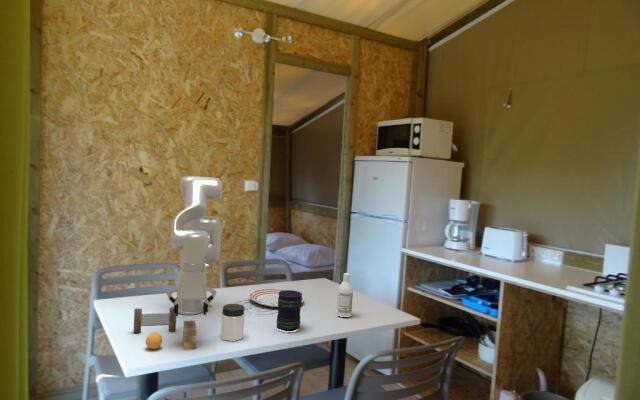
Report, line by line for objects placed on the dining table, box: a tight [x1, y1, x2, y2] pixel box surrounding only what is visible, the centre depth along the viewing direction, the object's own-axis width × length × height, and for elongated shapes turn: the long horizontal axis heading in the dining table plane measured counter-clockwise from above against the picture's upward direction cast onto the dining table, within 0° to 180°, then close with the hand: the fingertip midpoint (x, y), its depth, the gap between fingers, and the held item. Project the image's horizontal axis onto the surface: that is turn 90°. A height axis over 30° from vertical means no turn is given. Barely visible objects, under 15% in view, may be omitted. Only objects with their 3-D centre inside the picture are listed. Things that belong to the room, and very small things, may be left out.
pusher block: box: [182, 320, 198, 351], centre depth 160 cm, size 4×10×7 cm, turn 19°
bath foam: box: [335, 272, 354, 316], centre depth 204 cm, size 7×7×20 cm
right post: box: [168, 306, 177, 333], centre depth 171 cm, size 3×3×9 cm
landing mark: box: [141, 312, 170, 327], centre depth 182 cm, size 14×14×1 cm
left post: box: [133, 307, 143, 335], centre depth 167 cm, size 3×3×9 cm
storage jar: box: [276, 289, 303, 331], centre depth 182 cm, size 10×10×15 cm
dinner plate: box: [248, 288, 305, 308], centre depth 219 cm, size 27×27×3 cm
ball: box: [145, 332, 163, 350], centre depth 154 cm, size 6×6×6 cm
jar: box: [220, 303, 245, 342], centre depth 169 cm, size 9×8×12 cm
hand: (190, 314), depth 159 cm, fingers open, 9 cm apart
